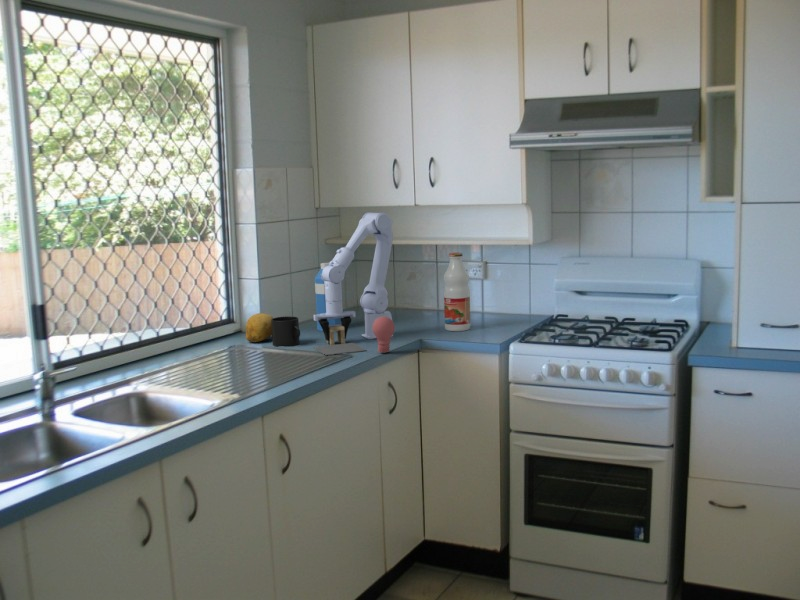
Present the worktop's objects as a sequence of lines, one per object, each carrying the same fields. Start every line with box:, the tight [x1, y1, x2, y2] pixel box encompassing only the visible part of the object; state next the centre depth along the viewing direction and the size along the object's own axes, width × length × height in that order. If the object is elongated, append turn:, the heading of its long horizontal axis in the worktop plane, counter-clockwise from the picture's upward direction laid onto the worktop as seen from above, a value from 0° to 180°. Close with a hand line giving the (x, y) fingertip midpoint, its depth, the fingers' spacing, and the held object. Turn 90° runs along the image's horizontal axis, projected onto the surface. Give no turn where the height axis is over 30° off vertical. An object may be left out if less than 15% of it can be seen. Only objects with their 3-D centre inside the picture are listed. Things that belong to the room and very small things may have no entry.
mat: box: [313, 342, 368, 356], centre depth 284 cm, size 14×14×1 cm
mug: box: [271, 315, 301, 347], centre depth 295 cm, size 9×12×9 cm
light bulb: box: [373, 317, 396, 354], centre depth 275 cm, size 7×7×12 cm
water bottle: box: [314, 262, 342, 332], centre depth 321 cm, size 9×9×25 cm
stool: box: [326, 324, 346, 345], centre depth 295 cm, size 5×5×6 cm
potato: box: [245, 312, 274, 343], centre depth 304 cm, size 10×12×10 cm
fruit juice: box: [443, 252, 471, 332], centre depth 311 cm, size 9×9×28 cm
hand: (335, 339), depth 295 cm, fingers open, 5 cm apart
